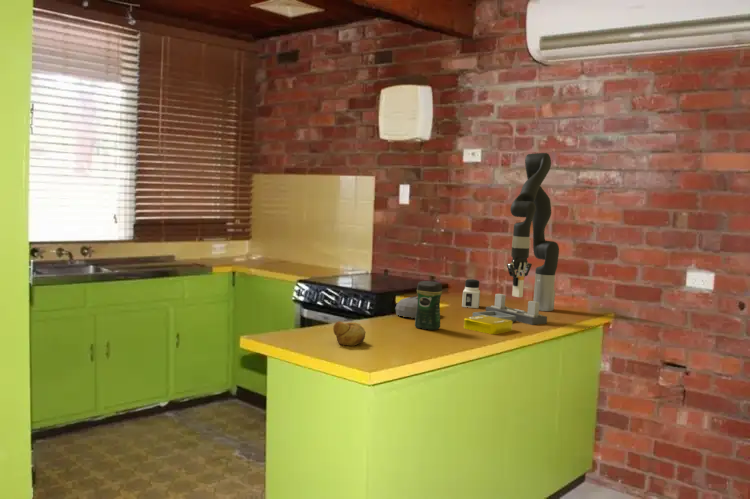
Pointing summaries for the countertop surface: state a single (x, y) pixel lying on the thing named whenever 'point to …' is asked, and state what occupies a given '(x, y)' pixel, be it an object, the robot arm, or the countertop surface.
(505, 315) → the tray
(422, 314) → the coffee jar
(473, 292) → the container
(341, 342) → the bread roll
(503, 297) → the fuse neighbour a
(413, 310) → the soft grey pack
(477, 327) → the element tile
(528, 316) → the fuse holder
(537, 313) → the block
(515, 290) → the block
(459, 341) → the countertop surface
